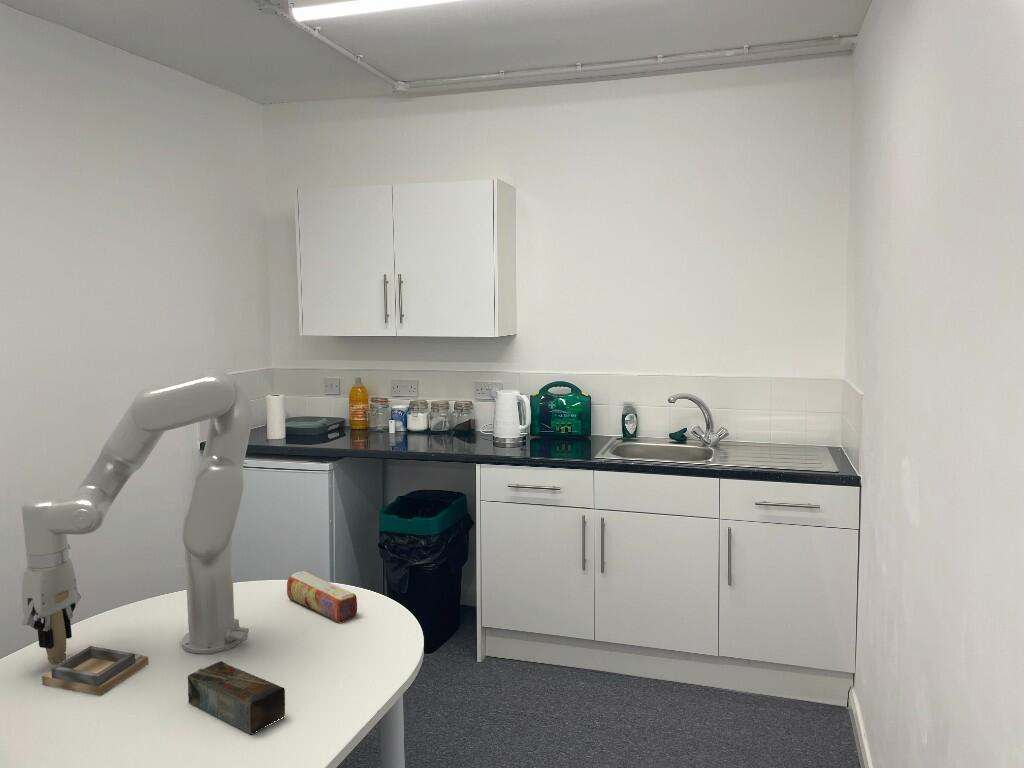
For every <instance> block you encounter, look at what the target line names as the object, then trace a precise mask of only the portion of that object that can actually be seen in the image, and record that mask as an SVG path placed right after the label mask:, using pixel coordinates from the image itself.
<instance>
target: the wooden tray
mask: <svg viewBox="0 0 1024 768" xmlns="http://www.w3.org/2000/svg"><path fill="white" fill-rule="evenodd" d="M146 665H147V666H148V665H149V656H147V655H142V654H138V653H135V652H129V651H123V650H117V649H111V648H106V647H105V648H104V647H98V646H92V645H90V646H88V647H85V649H82V650H80V651H79V652H78V653H77V652H76V654H74V655H73V656H69V658H66V659H65V660H64V661H63V662H61V663H57V664H55V666H53V667H51V668H50V669H51V670H50V671H48V672H46V673H44V674H43V675H41V685H43V686H49V687H51V688H52V687H53V688H58V689H63V690H64V689H65V690H67V691H68V690H69V691H73V692H80V693H84V694H91V695H96V696H103V695H104V694H105V693H107V692H108V691H110V690H112V689H113V688H115V687H116V686H118V685H119V684H121V683H122V682H124V681H125V680H127V679H128V678H130V677H131V676H133V675H135V674H136V673H138V672H140V671H141V670H143V669H144V668H145V667H147V666H146Z"/></svg>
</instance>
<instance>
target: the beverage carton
mask: <svg viewBox="0 0 1024 768" xmlns="http://www.w3.org/2000/svg"><path fill="white" fill-rule="evenodd" d="M187 687H188V689H187V696H188V699H187V700H188V704H189V705H191V706H194V707H196V708H198V709H199V710H202V711H203V712H205V713H207V714H209V715H211V716H213V717H215V718H217V717H218V718H217V719H219V720H221V719H222V720H221V721H223V720H224V722H226V723H228V724H230V725H231V726H234V727H236V728H238V729H240V730H242V731H244V732H245V733H248V732H249V733H248V734H250V733H251V734H252V733H254V734H256V733H257V732H256V731H258V730H260V729H261V728H263V729H265V728H266V727H265V726H267V725H269V724H271V723H273V722H274V721H277V720H278V719H281V718H282V717H284V716H285V717H286V690H285V687H283V686H280V685H278V684H276V683H273V682H270V681H269V680H266V679H263V678H261V677H259V676H256V675H254V674H251V673H249V672H247V671H245V670H242V669H240V668H238V667H235V666H232V665H230V664H228V663H227V662H224V661H222V660H221V661H217V662H214V663H213V664H211V665H209V666H206V667H204V668H198V669H196V671H194V672H192V673H190V674H188V675H187ZM285 717H284V718H285ZM281 720H282V719H281ZM277 722H278V721H277ZM273 724H274V723H273ZM264 727H265V728H264ZM267 727H268V726H267ZM261 730H262V729H261ZM261 730H260V731H261ZM255 732H256V733H255ZM258 732H259V731H258ZM251 734H250V735H251ZM252 735H253V734H252Z"/></svg>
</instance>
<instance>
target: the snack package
mask: <svg viewBox="0 0 1024 768" xmlns="http://www.w3.org/2000/svg"><path fill="white" fill-rule="evenodd" d="M286 595H287V597H288V599H290V600H293V601H295V602H297V603H299V604H301V605H302V606H304V607H307V608H309V609H312V610H314V611H316V612H318V613H320V614H322V615H324V616H325V617H328V618H330V619H332V620H334V621H335V622H337V623H340V624H341V623H345V622H347V621H349V620H352V619H353V618H355V617H356V615H357V614H358V613H357V612H358V600H357V599H358V597H357V595H356V594H355V593H354V592H351V591H349V590H347V589H344V588H342V587H340V586H338V585H335V584H333V583H331V582H329V581H326V580H324V579H322V578H319V577H318V576H316V575H314V574H311V573H309V571H304V570H303V571H298V572H294V573H292V574H291V575H290V576H289V577H288V579H287V581H286Z"/></svg>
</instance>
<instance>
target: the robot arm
mask: <svg viewBox="0 0 1024 768" xmlns="http://www.w3.org/2000/svg"><path fill="white" fill-rule="evenodd" d="M252 417H253V415H252V407H251V401H250V399H249V396H248V394H247V392H246V391H245V389H244V388H243V386H242V385H241V384H240V383H239V382H238V381H237V379H235V378H234V377H233V376H232V375H230V373H228V372H225V371H224V370H220V369H217V368H213V369H212V368H210V369H206V370H204V371H202V372H201V373H199V374H198V375H197V377H195V379H194V380H190V381H187V382H183V383H179V384H176V385H172V386H168V387H166V386H164V385H159V384H154V385H153V384H152V385H151V384H150V385H148V386H145V387H144V388H143V389H141V390H140V391H139V392H138V393H137V395H136V396H135V398H134V399H133V401H132V402H131V404H130V405H129V407H128V408H127V410H126V411H125V413H124V414H123V416H122V417H121V419H120V420H119V422H118V423H117V424H116V426H115V428H114V429H113V431H112V432H111V433H110V435H109V437H108V438H107V440H106V441H105V443H104V444H103V446H102V448H101V450H100V453H99V455H98V457H97V459H96V460H95V462H94V464H93V465H92V467H91V468H90V470H89V472H88V473H87V474H86V476H85V478H84V479H83V480H82V482H81V483H80V485H79V486H78V488H77V489H76V491H75V492H74V494H73V495H72V497H71V498H70V499H68V500H66V501H64V500H63V499H62V498H61V497H59V496H56V495H55V496H54V495H48V496H47V495H46V496H45V495H44V496H38V497H34V498H31V499H28V500H26V501H25V502H23V505H22V508H21V515H22V525H23V526H22V527H23V536H24V547H25V557H26V558H25V559H26V565H27V567H26V568H25V569H24V570H23V574H22V575H23V576H22V581H21V582H22V583H21V606H22V607H21V608H22V615H23V619H22V621H21V622H22V625H24V626H27V627H31V628H33V629H34V630H35V631H37V638H38V640H37V641H38V646H39V648H43V649H46V648H48V649H51V648H53V647H54V641H53V631H52V629H50V615H51V614H53V613H55V612H57V611H59V610H61V609H62V611H63V618H64V624H65V630H66V640H67V639H71V638H72V637H73V636H72V634H73V633H72V625H71V624H72V623H71V619H73V617H74V614H73V612H74V611H75V610H76V606H77V604H79V602H80V601H81V599H82V595H81V594H80V593H79V592H78V583H77V576H76V572H75V568H74V564H73V561H72V558H70V555H69V553H70V552H69V551H70V550H71V545H70V544H69V542H68V541H69V540H68V535H77V536H78V535H89V534H92V533H94V532H96V531H98V529H100V528H101V527H102V525H103V523H104V521H105V518H106V517H107V515H108V512H109V509H110V508H111V507H112V505H113V503H114V502H115V499H116V498H117V497H118V496H119V494H120V492H121V490H123V488H124V486H125V485H126V484H127V482H128V480H130V479H131V477H132V476H133V474H134V473H136V472H137V471H138V470H140V469H141V468H142V466H143V465H144V464H145V463H146V461H147V459H148V458H149V457H150V455H151V454H152V452H153V450H154V449H155V447H156V445H157V444H158V443H159V441H160V440H161V438H162V436H163V435H164V434H165V432H166V431H171V430H175V429H179V428H182V427H186V426H189V425H193V424H197V423H201V422H203V421H208V420H209V426H208V431H207V436H206V441H205V445H204V449H203V453H202V455H201V456H202V457H201V459H200V463H199V465H198V467H197V470H196V473H195V478H194V485H193V490H192V495H191V499H190V503H189V507H188V510H187V511H186V513H185V515H184V517H183V523H182V534H181V537H182V538H181V539H182V545H183V546H184V557H185V584H186V604H187V605H186V606H187V625H188V626H187V627H188V632H187V633H185V634H184V635H183V636H182V638H181V641H180V644H181V647H182V649H183V650H184V651H186V652H188V653H193V654H199V655H200V654H203V655H204V654H205V655H207V654H215V653H219V652H223V651H228V650H229V649H231V648H233V647H235V646H236V645H238V644H239V643H241V642H246V641H247V639H248V636H249V635H248V634H249V633H250V629H249V628H248V627H240V620H239V619H238V618H235V599H234V578H233V577H234V575H233V570H234V567H233V548H232V547H233V545H232V541H233V539H232V537H233V533H234V530H235V525H236V522H237V517H238V513H239V510H240V506H241V502H242V498H243V494H244V493H243V492H244V487H245V486H244V485H245V484H244V473H243V471H244V470H243V468H244V465H245V464H244V463H245V458H246V453H247V451H248V450H247V449H248V445H249V439H250V435H251V430H252V421H253V418H252ZM67 590H69V596H68V598H66V599H65V600H64V601H62V602H60V603H55V596H57V595H59V594H61V593H63V592H65V591H67ZM42 620H43V622H42Z"/></svg>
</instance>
